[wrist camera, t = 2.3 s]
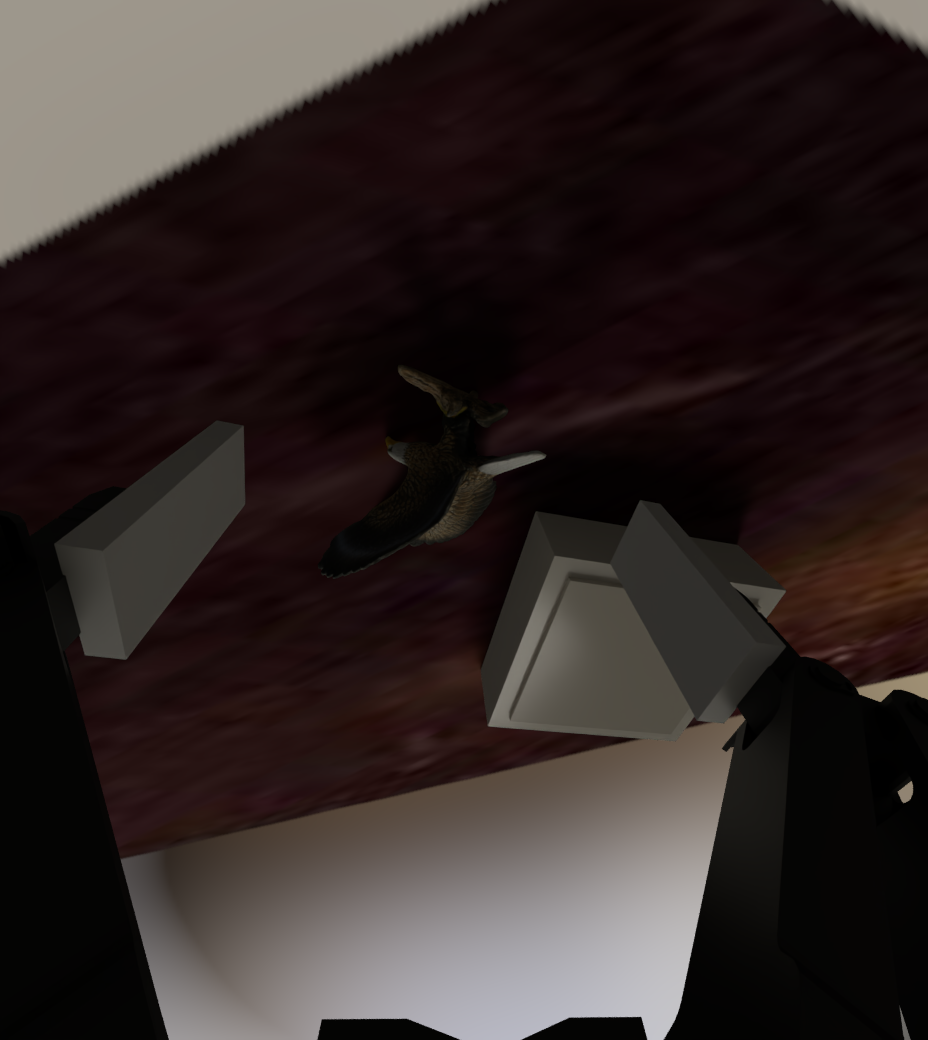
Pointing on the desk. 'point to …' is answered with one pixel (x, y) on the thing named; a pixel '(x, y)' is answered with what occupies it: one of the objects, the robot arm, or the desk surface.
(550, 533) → the tray
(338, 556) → the eagle figurine
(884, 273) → the desk surface
